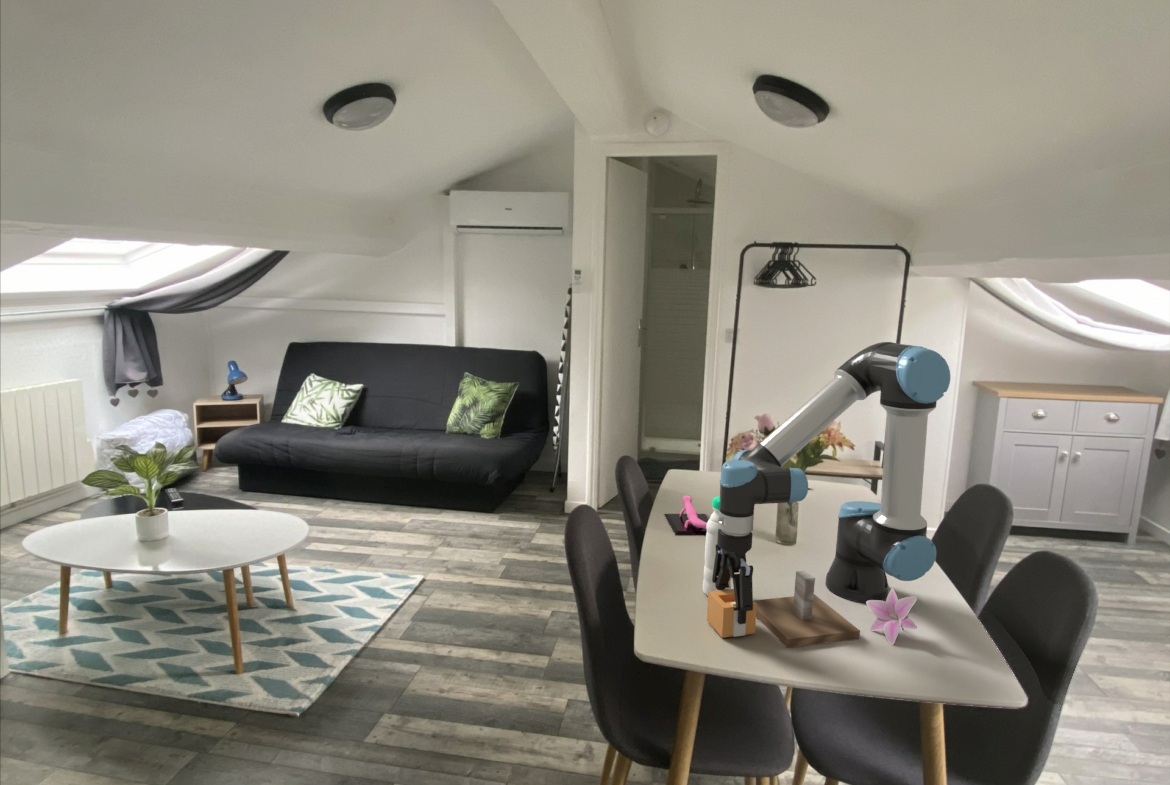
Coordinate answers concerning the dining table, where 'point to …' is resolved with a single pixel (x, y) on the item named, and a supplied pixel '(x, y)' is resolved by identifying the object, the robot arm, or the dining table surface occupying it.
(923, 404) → the robot arm
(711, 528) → the water bottle
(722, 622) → the orange slotted box
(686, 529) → the lizard figurine
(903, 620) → the lily
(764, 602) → the board
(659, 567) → the dining table surface
